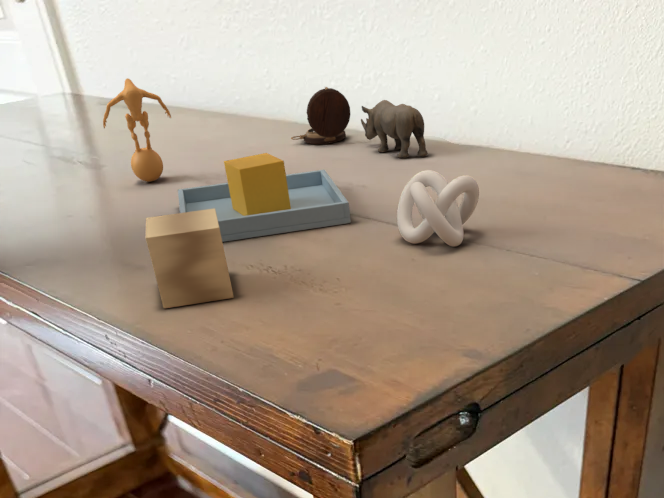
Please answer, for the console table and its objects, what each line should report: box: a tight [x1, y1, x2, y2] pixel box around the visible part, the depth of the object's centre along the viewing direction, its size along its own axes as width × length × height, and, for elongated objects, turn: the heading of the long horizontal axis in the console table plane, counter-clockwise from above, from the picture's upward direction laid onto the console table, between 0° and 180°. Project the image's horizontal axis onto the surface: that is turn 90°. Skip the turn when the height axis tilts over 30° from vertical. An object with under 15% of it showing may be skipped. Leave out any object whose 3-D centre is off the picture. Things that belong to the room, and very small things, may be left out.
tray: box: [177, 169, 352, 243], centre depth 89 cm, size 17×15×2 cm
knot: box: [396, 169, 480, 247], centre depth 77 cm, size 8×8×6 cm
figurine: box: [102, 77, 172, 183], centre depth 101 cm, size 8×6×12 cm
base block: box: [145, 208, 235, 309], centre depth 70 cm, size 6×6×6 cm
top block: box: [223, 152, 291, 216], centre depth 88 cm, size 5×5×5 cm
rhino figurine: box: [360, 99, 429, 159], centre depth 108 cm, size 4×14×6 cm, turn 35°
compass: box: [290, 86, 351, 145], centre depth 115 cm, size 8×8×7 cm
